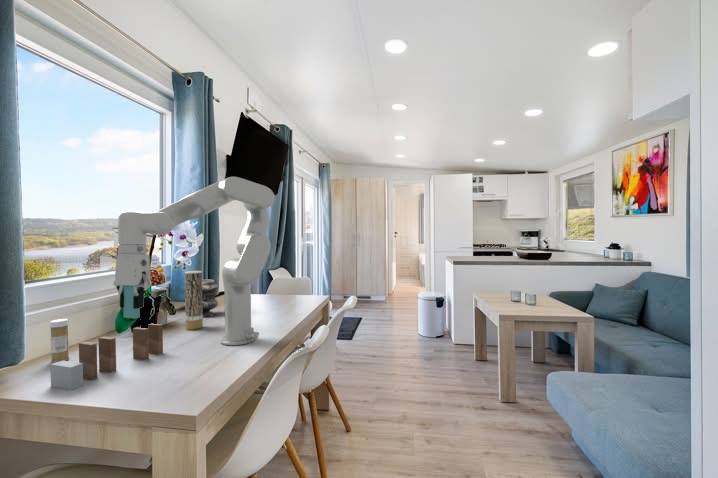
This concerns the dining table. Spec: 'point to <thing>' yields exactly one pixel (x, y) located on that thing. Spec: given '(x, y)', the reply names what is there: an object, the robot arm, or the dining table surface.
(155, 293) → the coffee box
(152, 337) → the domino
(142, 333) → the domino
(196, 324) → the paper tube
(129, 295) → the domino
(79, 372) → the end block
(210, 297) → the stacked stone tower
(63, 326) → the sprinkles bottle
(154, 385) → the dining table surface
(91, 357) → the domino
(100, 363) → the domino
